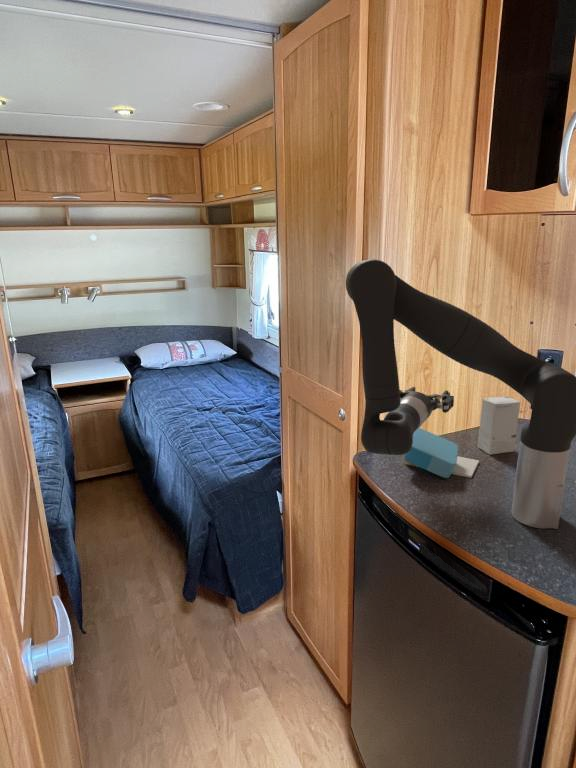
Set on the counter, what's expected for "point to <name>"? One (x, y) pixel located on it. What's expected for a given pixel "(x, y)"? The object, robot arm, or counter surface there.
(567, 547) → the counter surface
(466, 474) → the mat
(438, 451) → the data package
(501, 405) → the skincare box
